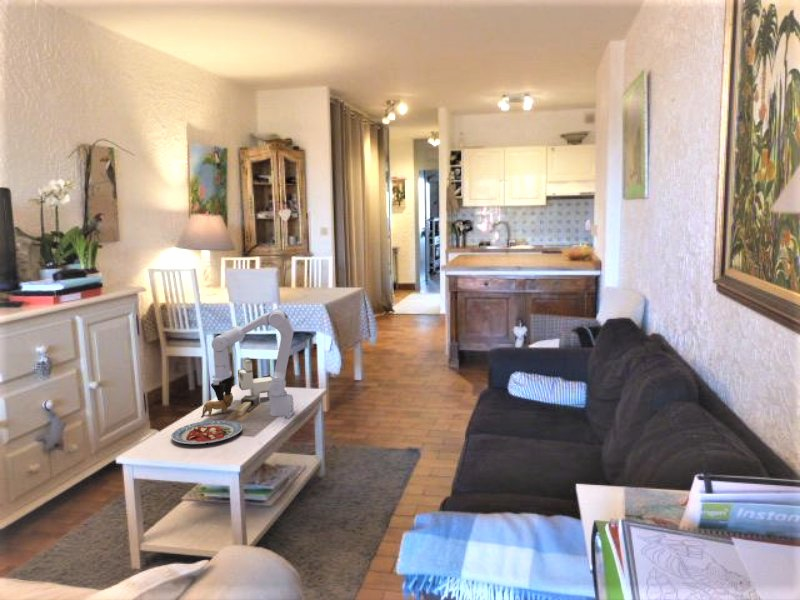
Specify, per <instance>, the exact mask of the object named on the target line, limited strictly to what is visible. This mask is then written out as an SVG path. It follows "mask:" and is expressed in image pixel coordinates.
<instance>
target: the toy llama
mask: <svg viewBox="0 0 800 600" xmlns="http://www.w3.org/2000/svg"><path fill="white" fill-rule="evenodd" d="M253 373H254V371H253V361H252V359H250V358H249V357H244V358H242V369H237V378H238V379H237V383H238V387H239V389H240V390H241V391H246V390H249V391H250V396H259V404H261V394H265V393H266V394H267V398H268V399H269V393H270V392H269V385H270V384H271V380H272V379H273V376H265V377H258V378H254V374H253Z"/></svg>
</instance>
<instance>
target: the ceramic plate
mask: <svg viewBox="0 0 800 600" xmlns="http://www.w3.org/2000/svg"><path fill="white" fill-rule="evenodd" d="M221 427H224V428H221ZM242 430H243V425H242V424H241V423H239V422H237V421H228V420H224V419H214V420H213V419H211V420H205V421H199V422H193V423H189V424H187V425H184V426H180V427H179V428H177V429H175V430H174V431H173V432H172V433H171V436H170V437H171V439H172V440H173V441H174V442H177V443H179V444H185V445H186V444H187V445H207V444H206V443H208V444H212V443H217V442H220V441H224V440H227V439H231V438H232V437H235V436H237V435H238V434H239V433H241V432H242Z"/></svg>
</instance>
